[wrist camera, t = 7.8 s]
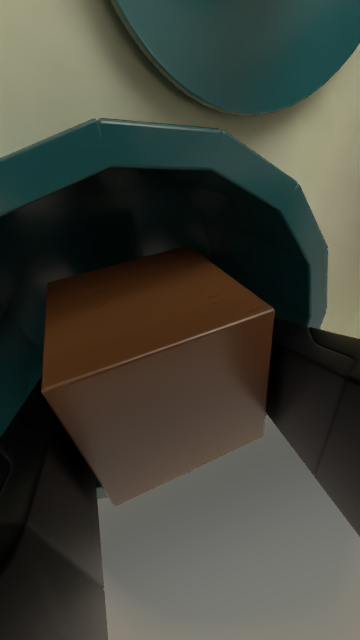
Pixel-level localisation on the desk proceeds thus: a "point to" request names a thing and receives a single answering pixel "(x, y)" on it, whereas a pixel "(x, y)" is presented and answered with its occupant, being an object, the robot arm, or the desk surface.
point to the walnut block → (156, 367)
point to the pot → (145, 225)
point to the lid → (244, 47)
